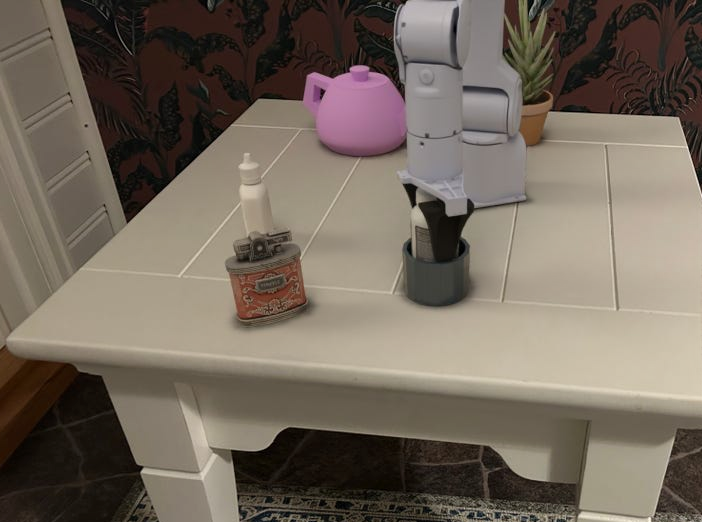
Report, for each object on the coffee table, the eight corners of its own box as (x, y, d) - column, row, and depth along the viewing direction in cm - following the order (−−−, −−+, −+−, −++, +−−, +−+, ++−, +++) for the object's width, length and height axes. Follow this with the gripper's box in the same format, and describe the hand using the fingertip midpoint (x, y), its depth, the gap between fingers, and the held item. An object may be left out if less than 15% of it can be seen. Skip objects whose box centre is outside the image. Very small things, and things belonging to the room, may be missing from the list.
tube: (456, 267, 90) (456, 227, 87) (478, 299, 84) (479, 257, 81) (397, 278, 88) (394, 237, 85) (415, 311, 82) (413, 269, 79)
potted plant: (495, 127, 128) (501, -30, 113) (550, 130, 127) (563, -29, 112) (490, 149, 120) (495, -17, 105) (548, 152, 119) (562, -15, 104)
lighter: (242, 331, 80) (224, 250, 73) (234, 315, 82) (216, 235, 76) (312, 311, 83) (301, 232, 76) (303, 297, 85) (291, 219, 79)
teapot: (284, 148, 121) (273, 73, 113) (330, 117, 132) (323, 47, 125) (405, 168, 114) (402, 90, 107) (443, 134, 125) (442, 61, 118)
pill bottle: (467, 272, 84) (469, 193, 78) (428, 286, 82) (426, 205, 76) (442, 252, 88) (441, 175, 82) (403, 265, 85) (399, 187, 79)
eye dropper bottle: (235, 249, 94) (217, 160, 87) (260, 230, 98) (245, 143, 91) (264, 256, 93) (248, 165, 85) (288, 236, 97) (275, 148, 89)
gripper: (378, 110, 79) (385, 223, 87) (417, 160, 68) (421, 284, 76) (440, 102, 81) (441, 215, 89) (488, 150, 70) (484, 273, 78)
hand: (436, 246), depth 83 cm, fingers closed on pill bottle, 5 cm apart
